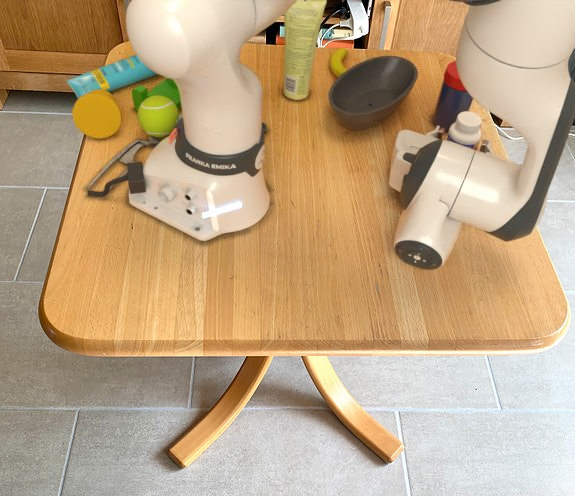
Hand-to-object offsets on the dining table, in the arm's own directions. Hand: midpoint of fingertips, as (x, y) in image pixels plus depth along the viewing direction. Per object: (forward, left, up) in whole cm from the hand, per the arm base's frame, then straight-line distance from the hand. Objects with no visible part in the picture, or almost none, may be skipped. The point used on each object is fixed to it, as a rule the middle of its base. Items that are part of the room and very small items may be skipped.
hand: (463, 136), depth 104 cm
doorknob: (-57, -14, -3) cm, 59 cm away
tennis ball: (-50, -18, 0) cm, 53 cm away
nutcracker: (-54, -23, -5) cm, 59 cm away
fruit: (-29, +18, -4) cm, 35 cm away
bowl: (-18, +7, -5) cm, 20 cm away
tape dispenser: (-53, -3, -5) cm, 53 cm away
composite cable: (-35, -10, -6) cm, 37 cm away
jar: (-3, +10, -5) cm, 12 cm away
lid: (-3, +10, +6) cm, 12 cm away
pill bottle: (0, -1, -6) cm, 6 cm away
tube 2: (-32, +7, -6) cm, 33 cm away
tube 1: (-58, +4, -2) cm, 58 cm away
